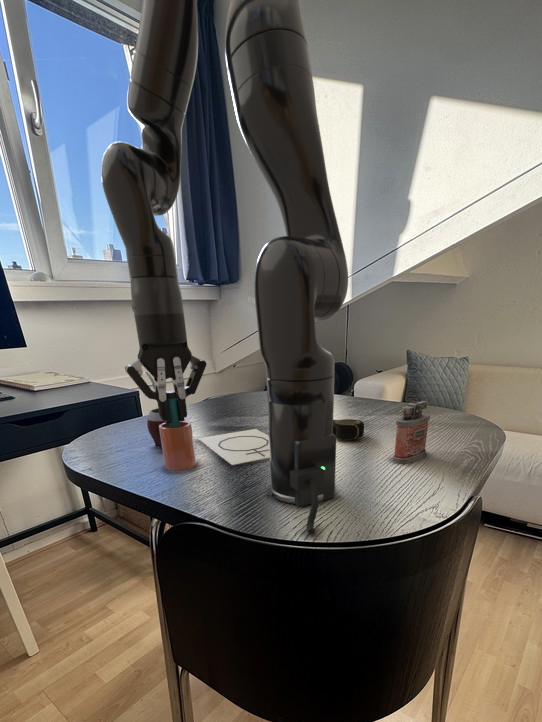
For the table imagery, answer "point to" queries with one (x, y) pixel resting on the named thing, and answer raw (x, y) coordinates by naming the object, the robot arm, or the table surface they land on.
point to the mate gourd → (154, 421)
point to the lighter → (411, 433)
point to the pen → (173, 409)
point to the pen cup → (177, 446)
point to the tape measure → (348, 429)
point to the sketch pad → (240, 446)
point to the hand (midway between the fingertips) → (174, 421)
